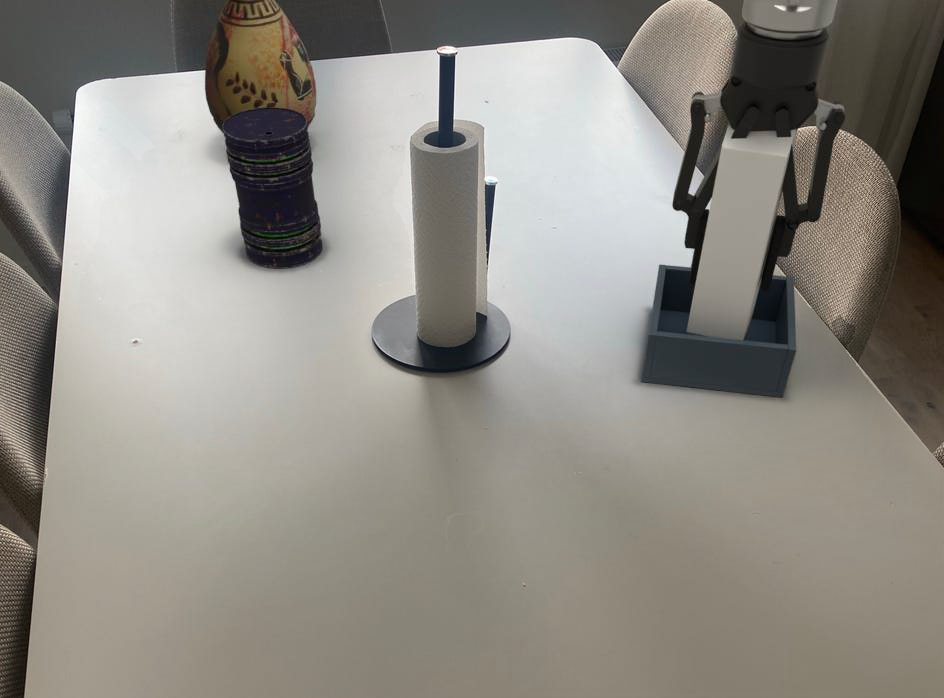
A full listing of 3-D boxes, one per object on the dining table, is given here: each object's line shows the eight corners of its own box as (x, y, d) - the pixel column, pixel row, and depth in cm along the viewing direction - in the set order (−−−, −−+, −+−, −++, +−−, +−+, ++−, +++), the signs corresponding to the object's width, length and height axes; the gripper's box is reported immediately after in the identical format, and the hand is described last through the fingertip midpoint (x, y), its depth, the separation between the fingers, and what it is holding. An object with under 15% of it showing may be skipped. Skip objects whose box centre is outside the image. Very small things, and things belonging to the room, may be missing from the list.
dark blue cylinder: (240, 236, 122) (216, 112, 110) (315, 226, 123) (300, 102, 112) (251, 274, 115) (226, 146, 104) (330, 262, 117) (314, 135, 106)
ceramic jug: (317, 173, 134) (285, -88, 111) (208, 173, 134) (155, -87, 111) (329, 125, 145) (302, -122, 122) (229, 125, 145) (184, -121, 122)
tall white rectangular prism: (742, 344, 98) (798, 119, 82) (684, 333, 100) (728, 109, 83) (752, 315, 102) (808, 93, 85) (697, 304, 104) (741, 84, 87)
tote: (781, 323, 107) (794, 276, 103) (782, 397, 98) (796, 349, 93) (652, 310, 109) (659, 264, 105) (641, 381, 100) (648, 334, 96)
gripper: (665, 32, 79) (630, 289, 96) (909, 47, 76) (828, 309, 93) (671, 4, 83) (637, 254, 101) (901, 17, 81) (825, 272, 98)
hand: (729, 280), depth 97 cm, fingers closed on tall white rectangular prism, 7 cm apart
